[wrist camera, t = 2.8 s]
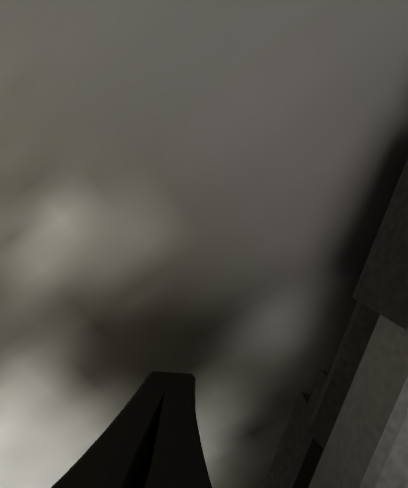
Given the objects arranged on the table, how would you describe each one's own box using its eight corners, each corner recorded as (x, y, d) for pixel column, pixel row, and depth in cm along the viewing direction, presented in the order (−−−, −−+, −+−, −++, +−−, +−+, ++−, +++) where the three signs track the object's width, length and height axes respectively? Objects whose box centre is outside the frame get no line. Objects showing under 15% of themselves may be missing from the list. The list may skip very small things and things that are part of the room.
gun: (191, 549, 14) (182, 1339, 4) (322, 142, 15) (599, -101, 5) (284, 578, 14) (520, 1432, 4) (409, 172, 15) (870, -4, 5)
